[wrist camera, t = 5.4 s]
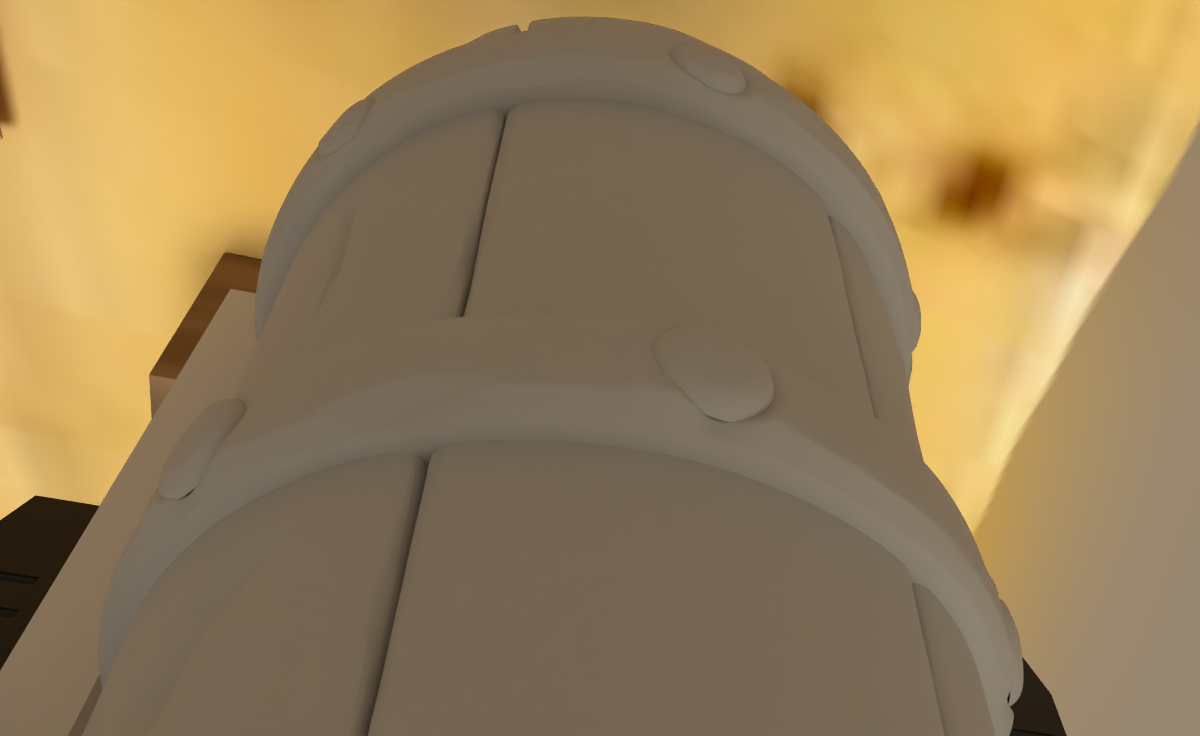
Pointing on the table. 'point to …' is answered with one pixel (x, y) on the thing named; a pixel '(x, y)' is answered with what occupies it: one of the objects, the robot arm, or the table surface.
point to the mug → (565, 433)
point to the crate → (200, 320)
